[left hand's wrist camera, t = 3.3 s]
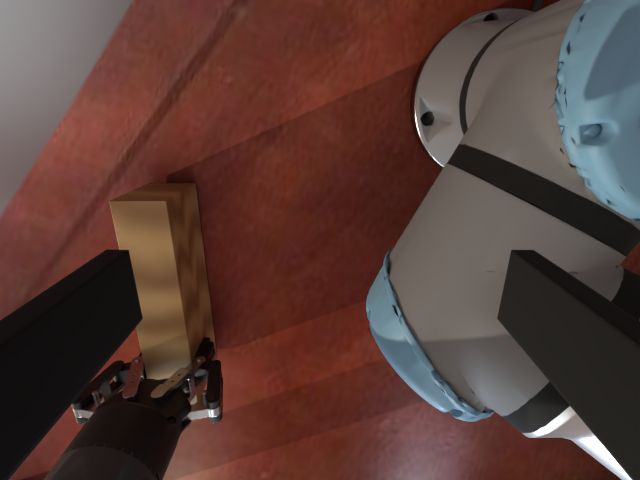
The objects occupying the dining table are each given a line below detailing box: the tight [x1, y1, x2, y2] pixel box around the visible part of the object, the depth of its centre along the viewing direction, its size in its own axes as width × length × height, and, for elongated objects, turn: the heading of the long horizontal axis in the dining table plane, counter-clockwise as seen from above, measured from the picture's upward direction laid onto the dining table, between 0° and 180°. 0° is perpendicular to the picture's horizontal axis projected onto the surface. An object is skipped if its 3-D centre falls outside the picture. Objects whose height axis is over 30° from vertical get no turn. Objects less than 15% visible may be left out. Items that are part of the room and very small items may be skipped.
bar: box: [109, 183, 217, 404], centre depth 39 cm, size 23×5×8 cm, turn 0°
